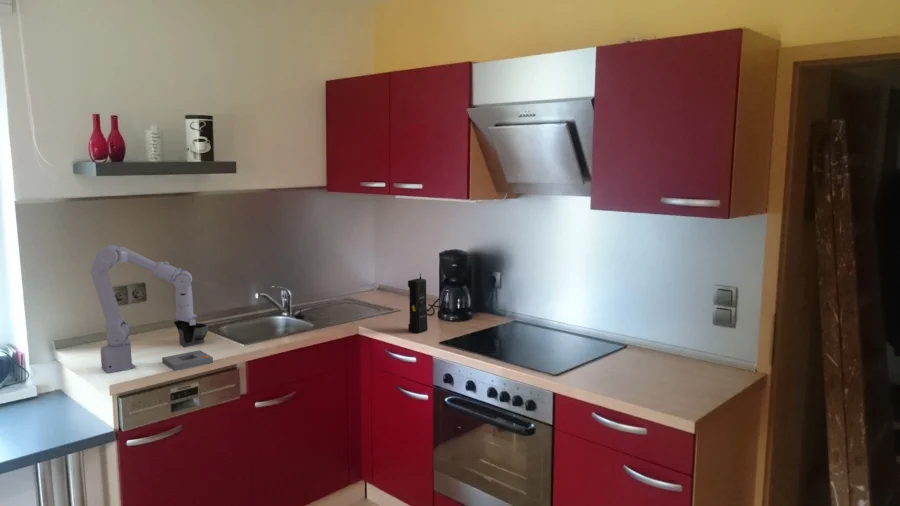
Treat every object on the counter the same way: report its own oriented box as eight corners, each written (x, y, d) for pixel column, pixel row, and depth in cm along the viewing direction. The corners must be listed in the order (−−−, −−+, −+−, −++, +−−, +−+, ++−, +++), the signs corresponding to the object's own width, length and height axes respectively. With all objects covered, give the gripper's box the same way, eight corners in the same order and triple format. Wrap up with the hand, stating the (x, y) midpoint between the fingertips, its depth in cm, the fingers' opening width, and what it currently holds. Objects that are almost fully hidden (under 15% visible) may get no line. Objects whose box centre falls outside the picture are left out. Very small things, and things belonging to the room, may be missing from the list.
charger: (183, 347, 238) (182, 328, 237) (179, 344, 241) (178, 326, 240) (194, 345, 240) (193, 326, 239) (190, 342, 243) (189, 324, 242)
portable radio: (417, 334, 281) (416, 276, 277) (406, 332, 284) (405, 275, 281) (428, 330, 287) (428, 274, 283) (418, 328, 291) (417, 272, 287)
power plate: (174, 370, 232) (173, 364, 232) (162, 362, 241) (161, 356, 241) (213, 362, 242) (212, 356, 241) (200, 355, 250) (199, 349, 250)
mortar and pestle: (196, 338, 274) (194, 310, 272) (214, 340, 270) (212, 312, 269) (175, 345, 264) (173, 316, 262) (193, 347, 260) (192, 318, 258)
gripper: (203, 306, 236) (205, 342, 238) (188, 299, 246) (189, 334, 248) (183, 309, 231) (185, 346, 233) (168, 302, 242) (170, 338, 243)
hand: (186, 340), depth 240 cm, fingers closed on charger, 4 cm apart
